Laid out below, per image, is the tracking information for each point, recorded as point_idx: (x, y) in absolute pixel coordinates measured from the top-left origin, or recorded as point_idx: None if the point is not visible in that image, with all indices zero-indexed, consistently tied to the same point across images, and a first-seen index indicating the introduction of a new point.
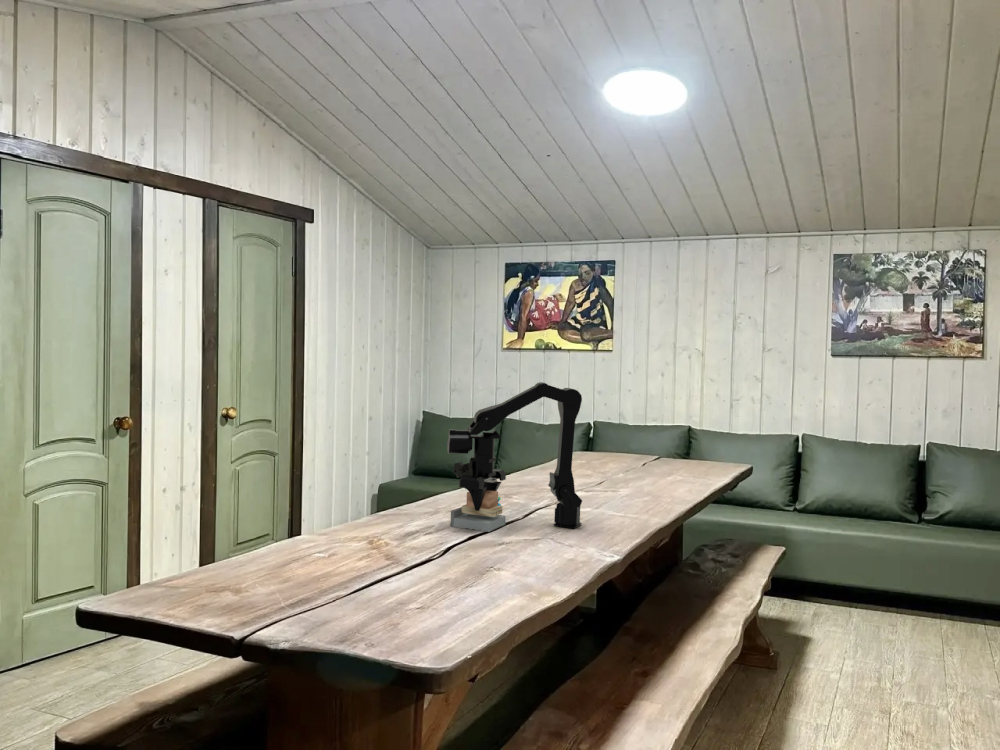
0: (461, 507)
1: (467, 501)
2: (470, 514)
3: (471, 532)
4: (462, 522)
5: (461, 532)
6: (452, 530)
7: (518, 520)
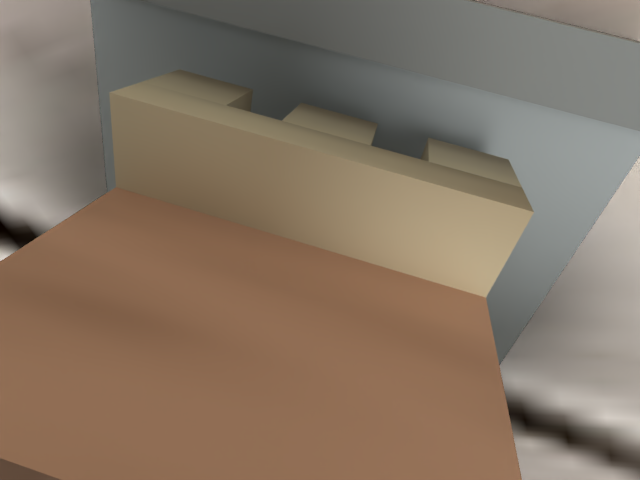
0: (377, 7)
1: (47, 250)
2: (397, 150)
3: (79, 194)
4: None
5: (27, 117)
6: (29, 11)
7: (603, 464)
